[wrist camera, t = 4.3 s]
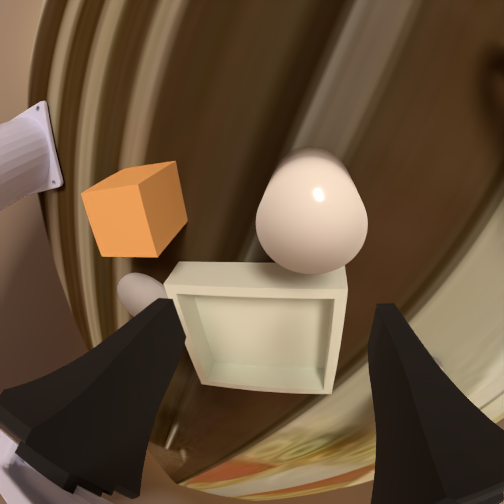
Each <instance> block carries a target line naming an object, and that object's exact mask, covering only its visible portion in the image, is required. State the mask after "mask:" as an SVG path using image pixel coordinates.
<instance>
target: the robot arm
mask: <svg viewBox="0 0 504 504" xmlns="http://www.w3.org/2000/svg"><path fill="white" fill-rule="evenodd" d="M62 185H63V178H62V174H61V170H60V166H59V162H58V158H57V154H56V150H55V145H54V140H53V135H52V130H51V125H50V119H49V114H48V107H47V103H46V101H41V102H39V103H37V104H36V105H34V106H32V107H31V108H29V109H28V110H26V111H25V112H23V113H22V114H20V115H18V116H17V117H15V118H14V119H12V120H11V121H9V122H6V123H3V124H0V211H2V210H3V209H5V208H6V207H8V206H9V205H11V204H12V203H14V202H16V201H17V200H19V199H20V198H22V197H24V196H27V195H30V194H34V193H38V192H42V191H46V190H50V189H54V188H58V187H60V186H62ZM185 340H186V335H185V332H184V329H183V327H182V324H181V321H180V318H179V316H178V313H177V310H176V307H175V304H174V301H173V299H168V298H158V299H156V300H155V301H154V302H152V303H151V304H150V305H148V306H147V307H146V308H145V309H143V310H142V311H141V312H140V313H138V314H137V315H136V316H135V317H133V318H132V319H131V320H130V321H128V322H127V323H126V324H125V325H123V326H122V327H121V328H120V329H119V330H117V331H116V332H115V333H113V334H112V335H111V336H109V337H108V338H107V339H105V340H104V341H103V342H101V343H100V344H99V345H97V346H96V347H95V348H93V349H92V350H90V351H89V352H87V353H86V354H84V355H83V356H81V357H80V358H78V359H76V360H75V361H73V362H71V363H69V364H68V365H66V366H64V367H62V368H60V369H58V370H56V371H54V372H52V373H50V374H48V375H46V376H43V377H41V378H39V379H36V380H34V381H31V382H28V383H26V384H22V385H19V386H16V387H12V388H9V389H5V390H4V391H3V392H2V393H1V395H0V423H1V424H2V425H4V426H5V427H6V428H7V429H8V430H9V431H11V432H12V433H13V434H14V435H15V436H16V437H18V438H19V439H20V440H21V442H20V444H19V443H18V442H17V441H15V440H14V439H13V438H12V437H11V436H9V435H8V434H7V433H6V432H4V431H3V430H2V429H0V494H1V495H2V496H3V498H4V499H5V501H6V502H7V504H113V503H111V502H109V501H107V500H105V499H103V498H101V495H102V492H104V493H106V494H108V495H112V494H113V491H115V492H117V493H119V494H122V495H124V496H126V497H129V498H131V499H134V498H137V497H139V496H140V487H141V478H142V471H143V466H144V460H145V455H146V450H147V446H148V442H149V438H150V434H151V431H152V427H153V424H154V420H155V417H156V414H157V411H158V409H159V406H160V404H161V401H162V399H163V397H164V395H165V392H166V390H167V388H168V386H169V383H170V381H171V379H172V377H173V374H174V372H175V370H176V368H177V365H178V363H179V361H180V357H181V354H182V351H183V347H184V344H185ZM368 362H369V375H370V382H371V389H372V396H373V404H374V412H375V421H376V461H375V474H374V484H373V492H372V499H371V504H499V503H501V502H503V500H504V494H503V492H504V430H503V429H501V428H500V427H499V426H498V425H496V424H495V423H494V422H493V421H491V420H490V419H489V418H488V417H487V416H486V415H485V414H484V413H482V412H481V411H480V410H479V409H478V408H477V407H476V406H475V405H474V404H473V403H472V402H471V401H470V400H469V399H468V398H467V397H466V396H465V395H464V394H463V393H462V392H461V391H460V390H459V389H458V388H457V387H456V385H455V384H454V383H453V382H452V381H451V380H450V379H449V378H448V376H447V375H446V374H445V373H444V371H443V370H442V369H441V368H440V366H439V365H438V364H437V363H436V361H435V360H434V359H433V357H432V356H431V355H430V354H429V352H428V351H427V349H426V348H425V347H424V345H423V344H422V343H421V341H420V340H419V338H418V337H417V336H416V334H415V333H414V331H413V330H412V328H411V327H410V326H409V324H408V323H407V321H406V320H405V318H404V317H403V315H402V314H401V312H400V311H399V310H398V308H397V307H396V305H395V304H394V303H393V304H377V306H376V311H375V315H374V320H373V325H372V329H371V333H370V337H369V341H368Z"/></svg>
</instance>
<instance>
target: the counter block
mask: <svg viewBox="0 0 504 504" xmlns="http://www.w3.org/2000/svg"><path fill="white" fill-rule="evenodd" d="M81 195H82V199H83V202H84V206H85V209H86V212H87V215H88V218H89V221H90V224H91V227H92V230H93V233H94V236H95V239H96V242H97V244H98V247H99V250H100V253H101V255H102V257H158V256H159V255H160V254H161V253H162V251H163V250H164V249H165V248H166V247H167V245H168V244H169V243H170V242H171V240H172V239H173V238H174V237H175V236H176V234H177V233H178V232H179V231H180V230H181V228H182V227H183V226H184V225H185V224H186V223H187V221H188V220H187V215H186V210H185V206H184V201H183V196H182V191H181V186H180V181H179V176H178V170H177V165H176V161H171V162H164V163H157V164H151V165H145V166H138V167H133V168H127V169H122V170H121V171H119V172H117V173H115V174H113V175H112V176H110V177H108V178H106V179H104V180H103V181H101V182H99V183H97V184H96V185H94V186H92V187H91V188H89V189H87V190H86V191H84V192H82V193H81Z"/></svg>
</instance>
